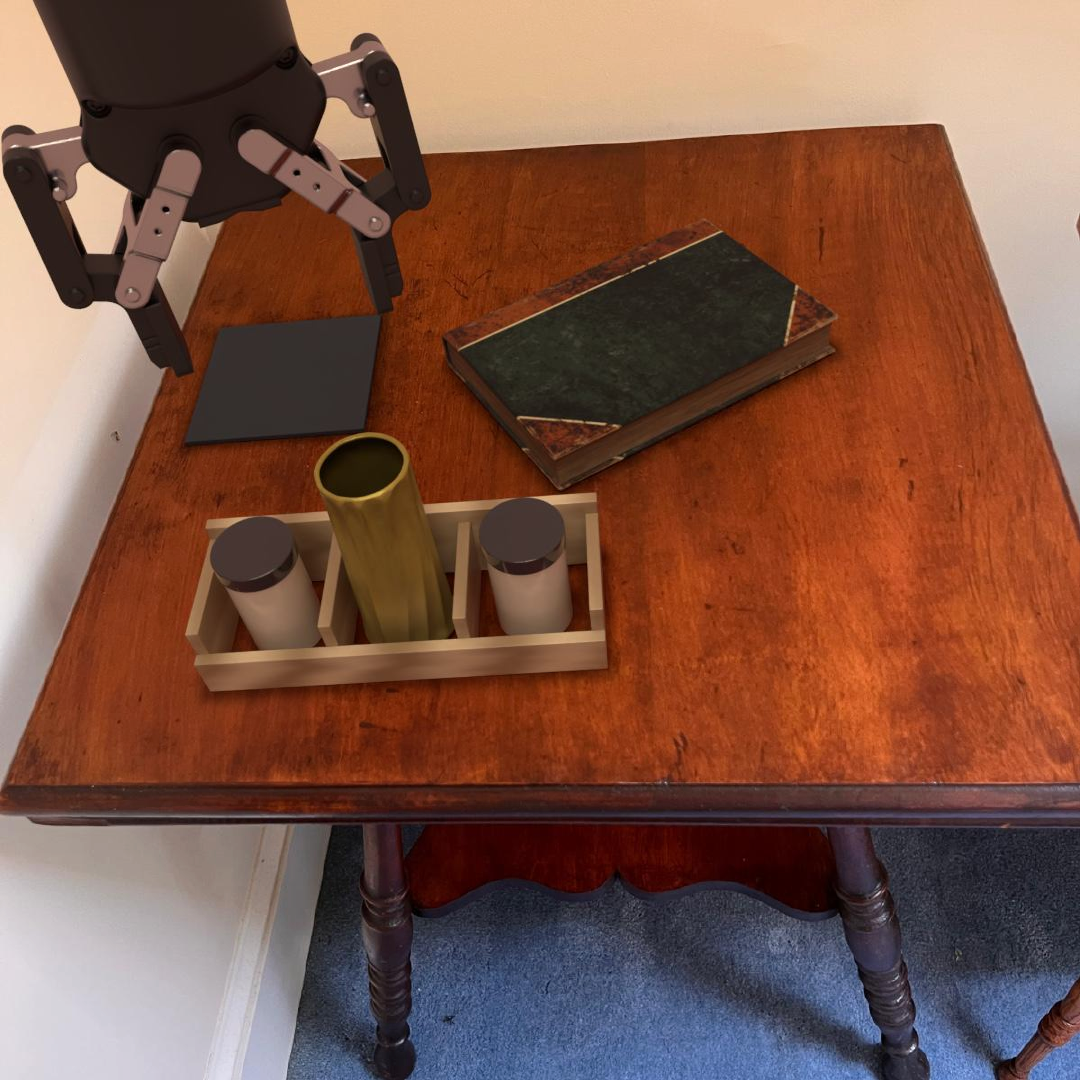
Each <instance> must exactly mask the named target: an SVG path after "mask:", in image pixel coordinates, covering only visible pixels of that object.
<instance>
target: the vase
mask: <svg viewBox="0 0 1080 1080" xmlns="http://www.w3.org/2000/svg"><path fill="white" fill-rule="evenodd" d="M415 475H416V474H415V472H414V468H413V464H412V460H411V458H410V455H409V452H408V450H407V448H406V447H405V445H404V444H403V443H401V441H399V440H398V439H397V438H394V437H393V436H390V435H388V434H385V433H382V432H370V431H367V432H359V433H355V434H352V435H349V436H346V437H343V438H342V439H339V440H337V441H336V442H334V443H333V444H332V445H330V446H329V447H328V448H327V449H326V450H325V452H323V453H322V454H321V456H320V457H318V460H317V462H316V465H315V466H314V471H313V477H314V478H313V479H314V481H315V485H316V487H317V489H318V491H319V494H320V496H321V499H322V502H323V504H324V506H325V509H326V510H325V511H327V513H328V515H329V518H330V521H331V524H332V527H333V530H334V533H335V536H336V539H337V542H338V545H339V549H340V552H341V555H342V557H343V560H344V564H345V567H346V571H347V574H348V577H349V580H350V583H351V586H352V589H353V592H354V595H355V599H356V601H357V604H358V607H359V609H358V610H359V612H360V615H361V619H362V622H363V623H362V625H363V630H364V633H365V636H366V639H367V640H368V643H369V644H380V643H396V642H413V641H429V640H446V639H450V637H451V636H452V635H453V633H454V631H455V627H454V623H453V620H452V612H453V596H454V594H452V591H451V587H450V584H449V582H448V578H447V575H446V574H445V573H444V571H443V568H442V565H441V562H440V558H439V555H438V552H437V548H436V545H435V542H434V539H433V536H432V533H431V530H430V527H429V523H428V520H427V516H426V513H425V510H424V506H423V504H424V503H423V499H422V497H421V492H420V490H419V486H418V481H417V479H416V476H415Z"/></svg>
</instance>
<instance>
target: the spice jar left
mask: <svg viewBox="0 0 1080 1080" xmlns="http://www.w3.org/2000/svg"><path fill="white" fill-rule="evenodd" d="M256 516H257V517H252V516H250V517H251V518H247V519H244V520H241V521H239V522H236V523H235V524H233V525H231V526H230V527H228V528H227V529H225V530H224V531H223V532H222V533H221V534H220V535H219V536H218V537H217V539H216V540H215V542H214V544H213V546H212V548H211V552H210V564H211V566H212V568H213V570H214V572H215V574H216V576H217V578H218V579H219V581H220V582H221V583H222V584H223V585H224V587H225V589H226V591H227V593H228V594H229V596H230V598H231V600H232V602H233V604H234V606H235V607H236V609H237V611H238V613H239V615H240V616H239V618H240V619H241V621H242V622H243V625H244V626H245V628H246V630H247V631H248V633H249V635H250V637H251V639H252V641H253V643H254V644H255V646H256V648H257V649H258V651H265V650H281V649H298V648H314V647H316V645H317V644H318V643H319V642H320V641H321V639H323V638H322V636H321V634H320V631H319V629H318V627H317V626H318V620H319V614H320V608H321V600H320V598H319V596H318V594H317V591H316V589H315V586H314V584H313V581H311V579H310V577H309V575H308V572H307V570H306V568H305V565H304V563H303V561H302V558H301V556H300V554H299V551H298V545H297V542H296V540H295V538H294V535H293V533H292V531H291V529H290V528H289V526H288V525H287V524H285V523H284V522H282V521H281V520H279V519H276V518H273V517H267V516H266V515H256Z"/></svg>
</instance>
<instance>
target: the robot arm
mask: <svg viewBox="0 0 1080 1080" xmlns="http://www.w3.org/2000/svg"><path fill="white" fill-rule="evenodd" d="M32 3H33V5H34V7H35V9H36V11H37V13H38V16H39V17H40V20H41V22H42V24H43V27H44V29H45V31H46V33H47V35H48V37H49V40H50V42H51V45H52V47H53V49H54V51H55V53H56V55H57V57H58V60H59V62H60V64H61V67H62V69H63V71H64V73H65V76H66V78H67V80H68V82H69V83H70V84H69V85H70V87H71V89H72V91H73V93H74V95H75V97H76V100H77V103H78V106H79V109H80V116H79V123H78V125H74V126H69V127H65V128H59V129H54V130H48V131H43V132H39V133H36V132H35V131H34V130H33V129H32V128H31V127H29V126H26V125H24V124H12V125H9V126H8V127H6V128H4V130H3V132H2V133H1V137H0V141H1V148H0V150H1V164H2V175H3V178H4V180H5V183H6V185H7V187H8V189H9V191H10V194H11V195H12V198H13V200H14V202H15V205H16V206H17V208H18V211H19V213H20V216H21V217H22V219H23V222H24V224H25V226H26V228H27V230H28V232H29V235H30V237H31V239H32V241H33V243H34V245H35V248H36V250H37V253H38V254H39V256H40V258H41V261H42V263H43V265H44V267H45V269H46V272H47V274H48V276H49V278H50V281H51V283H52V285H53V287H54V289H55V291H56V293H57V295H58V298H59V299H60V302H61V303H63V305H65V306H66V307H68V308H70V309H72V310H84V309H87V308H89V307H90V306H91V305H93V303H95V302H96V303H97V302H98V303H113V304H116V305H118V306H119V307H121V308H122V309H123V310H124V311H125V312H126V314H127V317H128V319H129V320H130V322H131V324H132V326H133V328H134V330H135V332H136V334H137V336H138V338H139V340H140V342H141V345H142V346H143V348H144V350H145V352H146V355H147V357H148V358H149V360H150V362H151V363H152V364H154V366H156V367H157V368H158V369H160V370H162V369H165V368H169V367H171V368H172V371H173V372H174V375H175V377H176V378H177V379H179V378H182V377H186V376H189V375H192V374H194V373H195V368H194V364H193V360H192V355H191V351H190V349H189V346H188V343H187V340H186V338H185V335H184V333H183V331H182V330H181V327H180V325H179V322H178V320H177V319H176V316H175V313H174V312H173V309H172V306H171V305H170V302H169V300H168V298H167V296H166V294H165V291H164V289H163V287H162V285H161V282H160V280H159V278H158V275H159V272H160V270H161V267H162V264H163V263H166V262H167V260H168V258H169V256H170V253H171V251H172V247H173V245H174V242H175V240H176V237H177V234H178V231H179V229H180V226H181V223H182V222H183V223H184V222H185V223H192V224H198V227H199V229H204V228H207V227H211V226H214V225H217V224H221V223H223V222H224V221H226V220H228V219H230V218H232V217H233V216H235V215H237V214H238V213H242V212H243V213H244V212H264V211H267V210H271V209H275V208H279V207H281V206H283V203H282V199H284V198H285V197H287V196H288V195H289V194H290V193H291V192H292V191H293V192H295V193H296V194H298V195H299V196H300V197H302V198H304V199H305V200H307V202H309V203H311V204H312V205H314V206H316V207H317V209H320V210H321V211H323V212H324V213H326V214H327V215H332V214H333V215H336V217H338V218H339V219H341V220H343V221H344V222H345V223H347V224H348V227H349V229H350V233H351V238H352V241H353V245H354V248H355V252H356V255H357V260H358V263H359V267H360V271H361V274H362V278H363V281H364V285H365V288H366V292H367V294H368V297H369V299H370V301H371V303H372V305H373V308H374V311H375V312H376V315H378V316H379V315H381V316H382V315H386V314H388V313H391V312H394V311H395V307H394V304H393V299H394V298H397V297H400V296H402V295H403V290H404V284H405V282H404V279H403V275H402V270H401V265H400V262H399V257H398V253H397V249H396V245H395V241H394V236H393V227H394V224H395V222H396V220H398V218H399V217H401V215H403V214H405V213H406V212H408V211H409V210H410V211H414V212H416V211H421V210H423V209H424V208H426V207H427V206H428V205H429V204H430V202H431V199H432V189H431V185H430V182H429V181H430V180H429V178H428V173H427V170H426V166H425V163H424V159H423V156H422V152H421V148H420V144H419V140H418V136H417V133H416V129H415V126H414V122H413V118H412V113H411V110H410V107H409V102H408V98H407V95H406V91H405V87H404V83H403V80H402V77H401V73H400V70H399V67H398V66H397V64H396V62H395V60H393V58H392V57H391V55H390V53H389V52H388V50H387V49H386V47H385V46H384V44H383V42H382V41H381V39H380V38H379V37H378V35H376V34H374V33H371V32H362V33H360V34H358V35H357V36H355V37H354V38H353V39H352V41H351V43H350V47H349V51H348V52H345V53H342V54H338V55H336V56H332V57H330V58H327V59H324V60H321V61H317V62H314V63H312V62H311V60H310V59H308V57H306V55H305V54H304V53H303V52H302V50H301V47H300V45H299V43H298V39H297V36H296V32H295V28H294V25H293V22H292V17H291V13H290V11H289V7H288V3H287V0H32ZM330 98H331V99H332V98H333V99H339V100H341V101H342V102H344V103H345V104H346V107H347V108H348V109H349V111H350V113H351V114H352V115H353V116H354V117H356V118H358V119H369V121H370V124H371V127H372V131H373V134H374V137H375V142H376V145H377V147H378V151H379V154H380V159H381V161H382V164H383V167H384V169H382V170H381V171H380V172H378V173H377V174H375V175H374V176H371V178H369V179H368V180H367V179H366V178H364V177H363V176H361V175H360V174H359V173H358V172H356V171H355V170H353V169H352V168H351V167H349V166H348V165H347V164H345V163H344V162H342V161H341V160H340V159H339V158H338V157H337V156H336V155H335V154H334V153H333V152H332V151H331V150H330V149H329V148H328V147H327V146H326V145H324V144H323V143H322V142H321V141H319V140H318V139H317V138H316V135H317V133H318V130H319V128H320V124H321V122H322V119H323V117H324V115H325V111H326V109H327V104H328V99H330ZM89 163H90V165H91V166H92V167H93V168H94V169H95V170H97V171H98V172H99V173H100V174H102V175H104V176H106V177H107V178H109V179H111V180H112V181H114V182H116V183H117V184H118V185H120V186H122V187H123V188H125V189H126V190H127V193H126V197H125V200H124V203H123V207H122V217H121V221H120V225H119V228H118V231H117V234H116V238H115V240H114V242H113V243H114V244H113V247H112V250H111V253H88V251H87V248H86V247H85V244H84V242H83V239H82V237H81V234H80V233H79V230H78V228H77V225H76V223H75V220H74V218H73V216H72V214H71V211H70V209H69V206H68V203H67V201H69V200H71V199H73V198H74V197H75V196H76V194H77V192H78V180H77V173H78V171H79V169H80V168H81V167H83V166H84V165H86V164H89Z"/></svg>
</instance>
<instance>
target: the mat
mask: <svg viewBox="0 0 1080 1080" xmlns="http://www.w3.org/2000/svg"><path fill="white" fill-rule="evenodd" d="M382 320H383V317H382V315H379V316H378V314H368V315H367V314H366V315H354V316H341V317H332V318H320V319H308V320H307V319H305V320H296V321H295V320H294V321H283V322H272V323H260V324H247V325H246V324H245V325H237V326H223V327H219V330H218V333H217V336H216V339H215V343H214V346H213V349H212V352H211V355H210V359H209V362H208V365H207V368H206V372H205V375H204V378H203V381H202V384H201V388H200V391H199V394H198V397H197V401H196V404H195V407H194V410H193V413H192V416H191V419H190V423H189V426H188V429H187V433H186V436H185V439H184V444H185V446H199V445H200V446H201V445H211V444H212V445H213V444H224V443H226V444H227V443H238V442H250V441H252V442H253V441H265V440H277V439H279V440H280V439H289V438H290V439H291V438H304V437H305V438H307V437H318V436H331V435H345V434H360V433H366V426H367V419H368V412H369V406H370V400H371V394H372V387H373V386H372V385H373V380H374V372H375V368H376V367H375V366H376V361H377V360H376V359H377V353H378V347H379V340H380V333H381V327H382Z"/></svg>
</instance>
